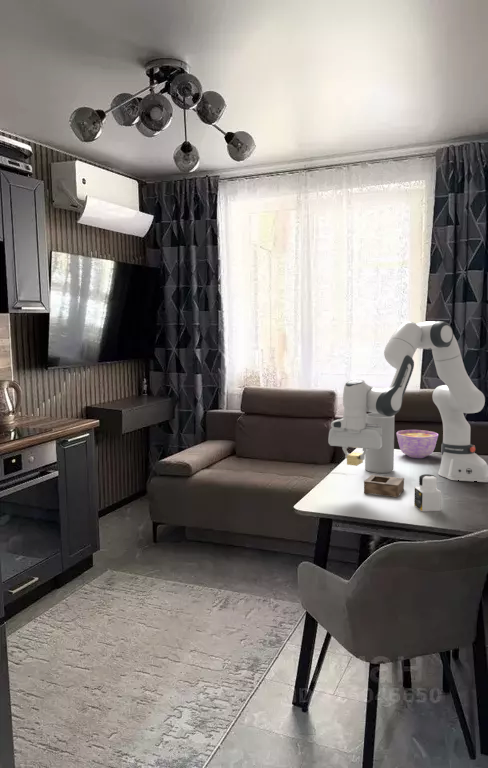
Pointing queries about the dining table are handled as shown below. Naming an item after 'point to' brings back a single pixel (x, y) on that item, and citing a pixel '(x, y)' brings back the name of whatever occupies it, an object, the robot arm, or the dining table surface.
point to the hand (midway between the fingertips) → (354, 458)
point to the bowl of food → (417, 442)
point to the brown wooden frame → (384, 485)
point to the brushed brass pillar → (354, 459)
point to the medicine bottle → (427, 494)
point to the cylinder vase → (384, 456)
